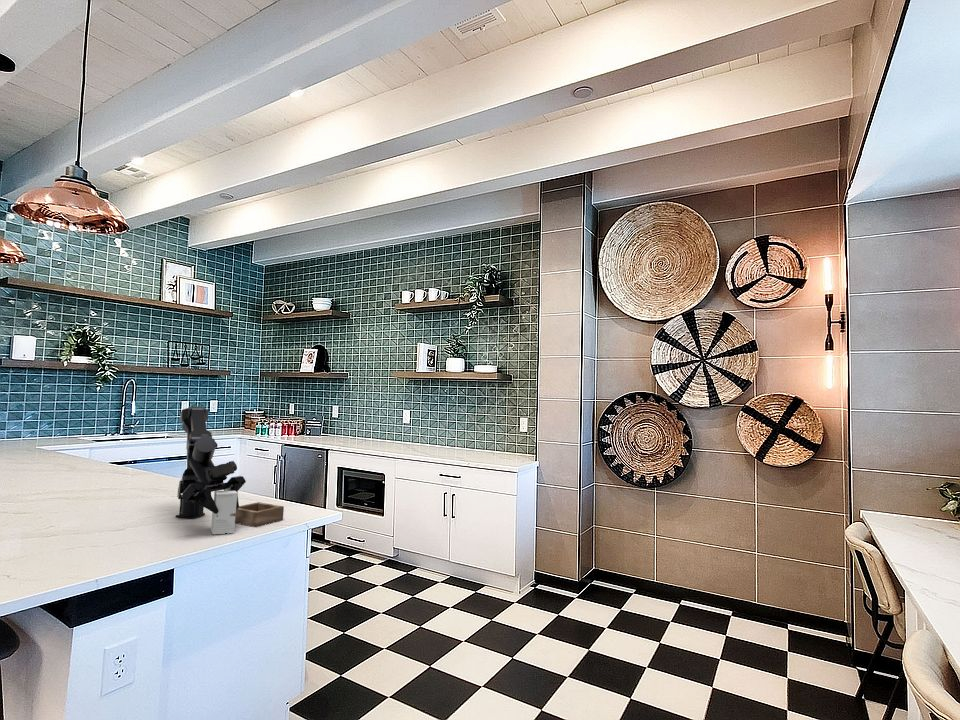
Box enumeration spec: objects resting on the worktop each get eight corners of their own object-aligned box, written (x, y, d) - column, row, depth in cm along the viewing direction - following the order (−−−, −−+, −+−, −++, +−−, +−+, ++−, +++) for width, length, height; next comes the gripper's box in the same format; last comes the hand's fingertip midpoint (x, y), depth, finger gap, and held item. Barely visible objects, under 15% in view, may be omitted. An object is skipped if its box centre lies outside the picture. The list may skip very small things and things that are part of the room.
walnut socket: (229, 522, 176) (230, 507, 176) (257, 515, 186) (258, 502, 186) (255, 527, 171) (256, 512, 171) (282, 520, 181) (283, 506, 182)
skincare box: (212, 535, 159) (215, 493, 160) (210, 531, 163) (213, 490, 164) (235, 533, 163) (238, 492, 164) (232, 529, 167) (235, 489, 167)
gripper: (192, 455, 157) (216, 499, 152) (243, 450, 174) (267, 489, 169) (171, 479, 160) (194, 523, 155) (224, 472, 177) (246, 511, 172)
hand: (227, 510), depth 163 cm, fingers closed on skincare box, 7 cm apart
